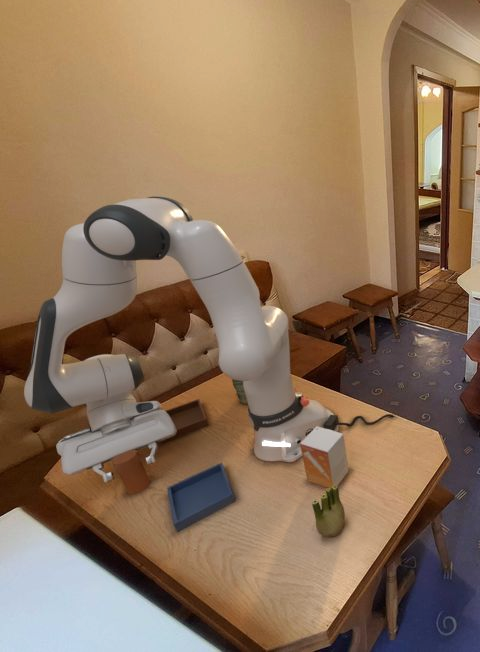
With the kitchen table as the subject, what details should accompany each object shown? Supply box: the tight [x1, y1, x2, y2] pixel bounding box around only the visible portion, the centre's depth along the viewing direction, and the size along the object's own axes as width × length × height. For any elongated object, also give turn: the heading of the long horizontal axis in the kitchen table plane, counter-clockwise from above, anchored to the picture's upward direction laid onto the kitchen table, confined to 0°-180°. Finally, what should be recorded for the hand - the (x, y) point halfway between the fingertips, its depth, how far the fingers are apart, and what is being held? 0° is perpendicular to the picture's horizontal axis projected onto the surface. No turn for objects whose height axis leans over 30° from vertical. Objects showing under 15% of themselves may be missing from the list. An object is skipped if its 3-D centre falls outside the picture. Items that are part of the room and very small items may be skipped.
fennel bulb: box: [311, 484, 346, 538], centre depth 77 cm, size 6×5×12 cm
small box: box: [300, 426, 350, 489], centre depth 89 cm, size 8×6×13 cm
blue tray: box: [166, 461, 236, 533], centre depth 85 cm, size 11×12×2 cm
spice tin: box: [111, 449, 151, 495], centre depth 86 cm, size 4×4×10 cm
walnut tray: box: [159, 398, 209, 445], centre depth 107 cm, size 11×12×2 cm
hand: (131, 472), depth 85 cm, fingers open, 6 cm apart
